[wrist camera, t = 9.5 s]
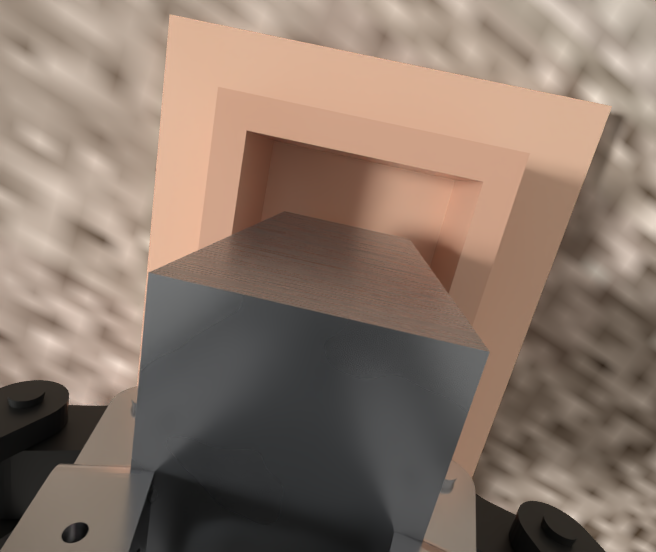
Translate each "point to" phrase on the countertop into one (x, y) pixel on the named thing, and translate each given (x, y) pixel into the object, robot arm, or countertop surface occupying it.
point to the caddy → (375, 170)
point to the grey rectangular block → (299, 391)
